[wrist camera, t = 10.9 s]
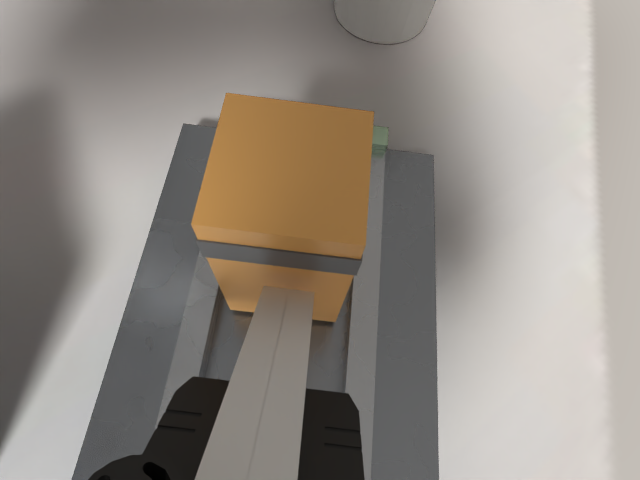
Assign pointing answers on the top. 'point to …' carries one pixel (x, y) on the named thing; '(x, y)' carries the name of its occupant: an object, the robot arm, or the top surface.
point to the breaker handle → (285, 200)
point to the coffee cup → (383, 18)
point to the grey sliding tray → (326, 337)
